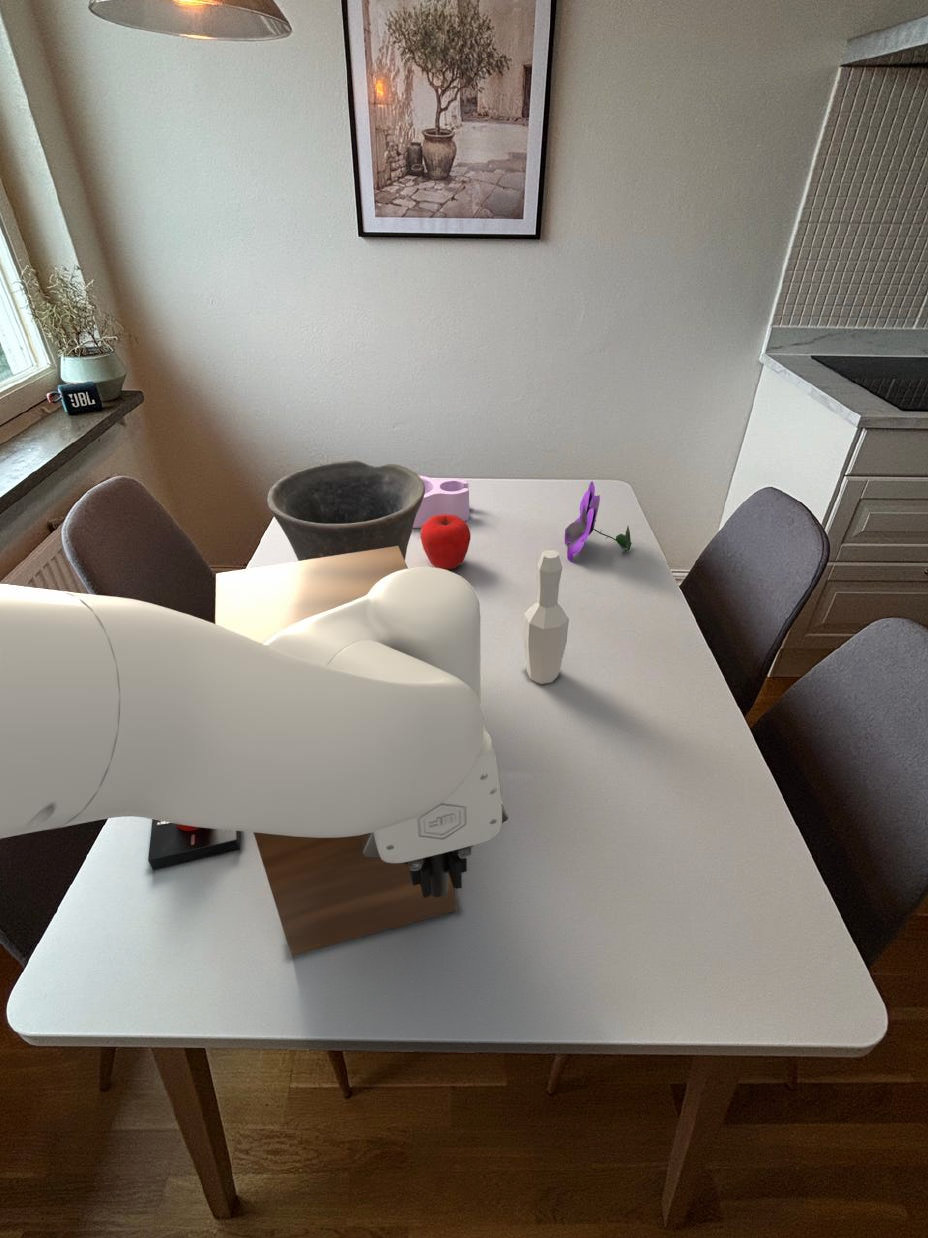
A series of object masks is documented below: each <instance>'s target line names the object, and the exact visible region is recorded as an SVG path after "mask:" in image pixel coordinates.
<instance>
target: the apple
mask: <svg viewBox="0 0 928 1238" xmlns="http://www.w3.org/2000/svg"><path fill="white" fill-rule="evenodd" d="M471 537H472V535H471V531H470V527H469V525H468V524H467V522H466V520H465V521H463V520H462V519H461V518H459V517H458V516H455V515H447V514H442V515H436V516H433V517H431V518H430V519H429V520H428V521H427V522H425V523H424V524H423V526H422V527H421V530H420V537H419V539H420V541H421V544H422V549H423V551H424V553H425V555H426V557H427V559H428V561H429V563H430V565H432V566H433V567H435V568H440V569H445V570H448V571H450V570H453V569H456V568H457V567H459V566H460V565H461V564H462V563H463V562H464V560H465V558H466V556H467V553H468V551H469V547H470V542H471Z"/></svg>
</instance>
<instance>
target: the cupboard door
mask: <svg viewBox="0 0 928 1238" xmlns="http://www.w3.org/2000/svg"><path fill="white" fill-rule="evenodd" d="M252 833H253V836H254V839H255V842H256V845H257V849H258V853H259V855H260V858H261V862H262V865H263V868H264V871H265V874H266V878H267V881H268V885H269V888H270V891H271V894H272V898H273V901H274V904H275V907H276V909H277V914H278V917H279V920H280V923H281V926H282V930H283V934H284V937H285V940H286V943H287V946H288V949H289V952H290V956H292V957H294V956H297V955H301V954H305V953H307V952H312V951H315V950H318V949H319V950H320V949H322V948H323V949H324V948H327V947H330V946H333V945H337V944H341V943H344V942H348V941H352V940H355V939H358V938H363V937H366V936H369V935H373V934H377V933H380V932H385V931H388V930H392V929H395V928H399V927H403V926H406V925H410V924H413V923H417V922H420V921H424V920H427V919H431V918H435V917H439V916H442V915H446V914H450V913H453V912H456V911H457V889H456V888H453V885H452V882H451V878H450V875H449V872H448V864H447V852H445V853H442V854H438V855H434V856H430V857H426V858H427V861H428V865H429V869H430V879H431V892H432V894H431V895H430V897H426V898H424V897H423V893H422V889H421V886H420V884H418V885H414V886H413V883H412V879H411V875H410V869H409V866H408V864H405V863H388V862H385V861H383V860H382V859H381V857H367V856H364V855H363V851H362V846H361V839H362V837H363V835H364V834H363V835H358V836H349V837H339V838H313V837H296V836H285V835H275V834H266V833H256V832H252Z"/></svg>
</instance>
